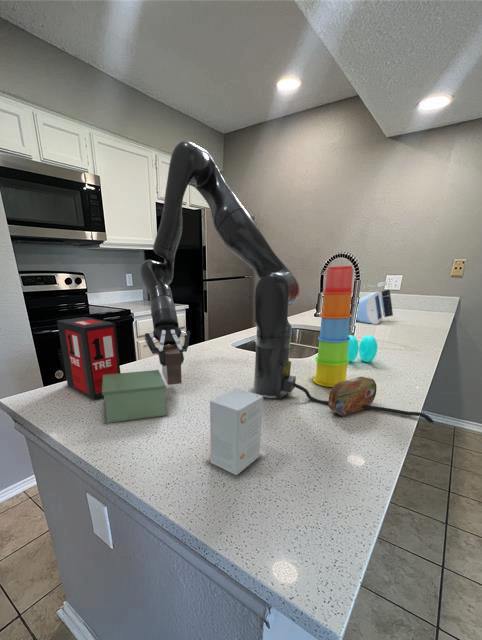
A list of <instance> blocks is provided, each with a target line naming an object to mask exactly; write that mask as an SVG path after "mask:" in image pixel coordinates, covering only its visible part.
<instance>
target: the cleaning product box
mask: <svg viewBox="0 0 482 640" xmlns="http://www.w3.org/2000/svg"><path fill="white" fill-rule="evenodd" d="M56 324H57V330H58V337H59V342H60V349H61V353H62V361H63V366H64V367H63V368H64V371H65V372H64V373H65V378H66V385H67V386H68V387H70V388H72V389H73V390H76V391H77V392H79V393H81V394H83V395H84V396H86V397H88V398H90V399H91V400H93V401H96V400H100V399H102V398H103V399H104V395H102V383H103V375H107V374H118V373H121V365H120V355H119V345H118V336H117V327H116V323H115V322H111V321H106V320H102V319H97V318H93V317H88V316H83V317H75V318H66V319H59V320H56Z"/></svg>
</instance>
